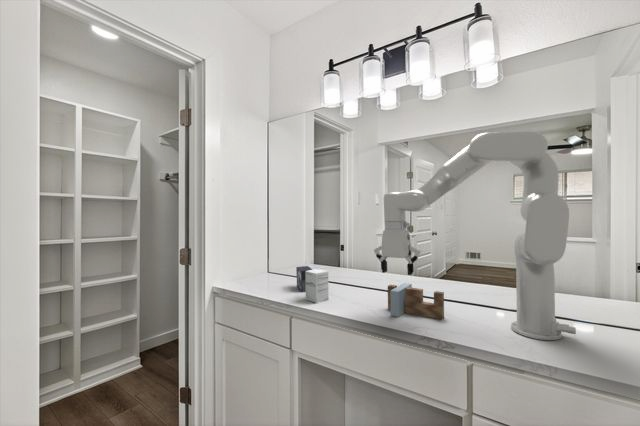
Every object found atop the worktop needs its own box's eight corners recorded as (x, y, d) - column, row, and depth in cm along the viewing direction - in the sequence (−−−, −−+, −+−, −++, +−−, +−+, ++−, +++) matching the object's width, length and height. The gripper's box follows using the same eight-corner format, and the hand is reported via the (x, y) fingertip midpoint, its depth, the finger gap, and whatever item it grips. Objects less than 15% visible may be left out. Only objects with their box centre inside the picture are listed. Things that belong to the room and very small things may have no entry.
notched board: (444, 317, 104) (443, 292, 104) (442, 319, 102) (441, 293, 102) (390, 307, 116) (390, 284, 115) (387, 309, 113) (387, 285, 113)
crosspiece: (411, 306, 116) (411, 283, 116) (398, 316, 105) (398, 291, 105) (404, 305, 118) (404, 282, 118) (390, 315, 107) (390, 290, 107)
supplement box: (305, 299, 127) (304, 270, 127) (317, 296, 132) (317, 268, 132) (316, 303, 121) (315, 273, 121) (329, 300, 126) (328, 270, 126)
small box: (295, 287, 149) (295, 266, 149) (308, 286, 151) (307, 265, 151) (300, 292, 139) (300, 270, 139) (314, 291, 141) (313, 269, 141)
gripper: (422, 225, 105) (424, 273, 105) (377, 226, 115) (379, 269, 115) (415, 226, 99) (417, 277, 99) (369, 227, 109) (370, 273, 109)
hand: (397, 273), depth 107 cm, fingers open, 9 cm apart
